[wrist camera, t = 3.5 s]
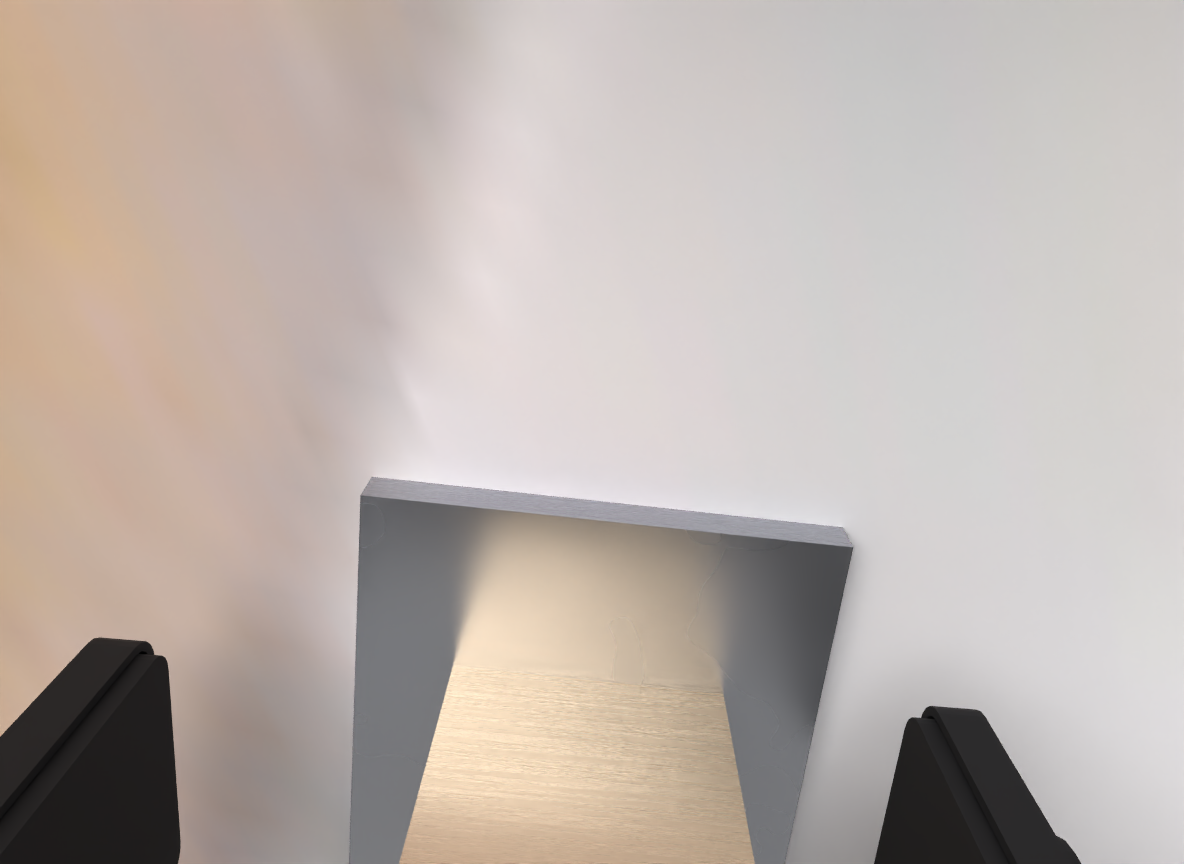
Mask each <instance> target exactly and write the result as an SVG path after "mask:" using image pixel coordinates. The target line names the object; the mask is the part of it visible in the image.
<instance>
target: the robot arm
mask: <svg viewBox="0 0 1184 864" xmlns="http://www.w3.org/2000/svg"><path fill="white" fill-rule="evenodd" d="M179 855H180V827H179V813H178V799H177V784H176V770H175V756H174V742H173V727H172V713H171V699H170V685H169V670H168V663H167V660H166V658H165V657H163V656H159V655H154V651H153V648H152V646H151V644H149V643H148V642H146V641H135V640H123V639H111V638H94V639H93V640H91V641H90V642H89V643H88V644H87V645H86V646H85V647H84V648H83V649H82V650H81V651H80V652H79V653H78V654H77V655H76V656H75V658H74V659H73V660H72V661H71V662H70V663H69V664H68V665H67V666H66V667H65V668H64V669H63V670H62V671H61V673H60V674H59V675H58V676H57V677H56V678H55V679H54V680H53V681H52V682H51V683H50V684H49V685H48V686H47V687H46V689H45V690H44V691H43V692H42V693H41V694H40V695H39V696H38V697H37V698H36V699H35V700H34V701H33V702H32V703H31V705H30V706H29V707H28V708H27V709H26V710H25V711H24V712H23V713H22V714H21V715H20V716H19V717H18V718H17V720H16V721H15V722H14V723H13V724H12V725H11V726H10V727H9V728H8V729H7V730H6V731H5V732H4V733H3V734H2V736H1V737H0V864H178V860H179ZM874 864H1081V862H1080V861H1079V859H1078V857H1077V856H1076V854H1075V853H1074V851H1073V850H1072V849H1071V847H1070V846H1069V845H1068V844H1067V842H1066V841H1065V840H1063V839H1061V838H1060V837H1058V836H1056V835H1055V833H1054V832H1053V830H1052V828H1051V827H1050V825H1049V823H1048V822H1047V820H1046V818H1045V817H1044V815H1043V813H1042V811H1041V810H1040V808H1039V806H1038V805H1037V803H1036V801H1035V800H1034V798H1033V796H1032V795H1031V793H1030V791H1029V790H1028V788H1027V786H1026V785H1025V783H1024V781H1023V780H1022V778H1021V776H1020V774H1019V773H1018V771H1017V769H1016V768H1015V766H1014V764H1013V763H1012V761H1011V759H1010V758H1009V756H1008V754H1007V753H1006V751H1005V749H1004V748H1003V746H1002V744H1001V743H1000V741H999V739H998V737H997V736H996V734H995V732H994V731H993V729H992V727H991V726H990V724H989V722H988V721H987V719H986V717H985V716H984V715H983V714H982V712H981V711H978V710H973V709H961V708H949V707H936V706H929V707H927V708H926V709H925V711H924V712H923V714H922V717H921V718H913V717H912V718H910V719H909V720H908V722H907V724H906V727H905V730H904V735H903V739H902V743H901V748H900V752H899V757H898V761H897V765H896V770H895V774H894V779H893V783H892V787H891V792H890V796H889V801H888V805H887V809H886V814H885V818H884V823H883V827H882V831H881V836H880V840H879V845H878V849H877V853H876V858H875V862H874Z"/></svg>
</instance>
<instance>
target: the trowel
mask: <svg viewBox="0 0 1184 864" xmlns="http://www.w3.org/2000/svg"><path fill="white" fill-rule="evenodd" d="M852 551H853V546H852V544H851V542H850V540H849V538H848V536H847V535H846V533H845V531H844V529H843V527H833V526H824V525H815V524H805V523H796V522H787V521H778V520H768V519H759V518H750V517H740V516H731V515H722V514H713V513H703V512H694V511H685V510H675V509H666V508H657V507H647V506H638V505H629V504H620V503H610V502H601V501H592V500H582V499H573V498H564V497H554V496H545V495H536V494H527V493H517V492H508V491H499V490H489V489H480V488H471V487H461V486H452V485H443V484H434V483H424V482H415V481H406V480H396V479H387V478H378V477H372V478H371V479H370V481H369V482H368V484H367V486H366V487H365V489H364V491H363V492H362V494H361V499H360V531H359V564H358V596H357V628H356V661H355V693H354V726H353V758H352V790H351V823H350V855H349V864H784V863H785V859H786V854H787V850H788V845H789V840H790V836H791V831H792V827H793V822H794V817H795V813H796V808H797V804H798V799H799V794H800V790H801V785H802V781H803V776H804V771H805V767H806V762H807V758H808V753H809V748H810V744H811V739H812V735H813V730H814V725H815V721H816V716H817V712H818V707H819V702H820V698H821V693H822V689H823V684H824V679H825V675H826V670H827V666H828V661H829V656H830V652H831V647H832V643H833V638H834V633H835V629H836V624H837V620H838V615H839V610H840V606H841V601H842V597H843V592H844V587H845V583H846V578H847V574H848V569H849V564H850V560H851V555H852Z"/></svg>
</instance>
